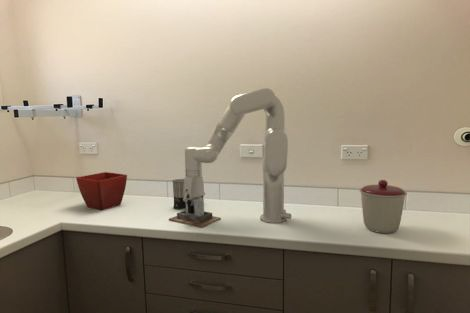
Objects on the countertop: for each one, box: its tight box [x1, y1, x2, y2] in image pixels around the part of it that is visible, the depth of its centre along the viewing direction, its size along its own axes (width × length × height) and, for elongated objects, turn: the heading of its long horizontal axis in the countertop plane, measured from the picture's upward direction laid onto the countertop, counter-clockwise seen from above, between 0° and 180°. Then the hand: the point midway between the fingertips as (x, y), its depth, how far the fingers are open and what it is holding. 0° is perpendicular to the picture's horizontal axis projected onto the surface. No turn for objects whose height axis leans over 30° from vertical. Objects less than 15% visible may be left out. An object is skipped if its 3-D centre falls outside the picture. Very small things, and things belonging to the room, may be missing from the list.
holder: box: [168, 209, 222, 229], centre depth 158 cm, size 20×14×3 cm
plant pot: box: [75, 171, 128, 211], centre depth 184 cm, size 19×19×17 cm
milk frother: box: [171, 178, 186, 210], centre depth 183 cm, size 14×16×15 cm
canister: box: [359, 179, 408, 234], centre depth 141 cm, size 18×18×21 cm
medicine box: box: [185, 197, 205, 217], centre depth 158 cm, size 8×4×9 cm, turn 53°
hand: (194, 211), depth 158 cm, fingers closed on medicine box, 4 cm apart
